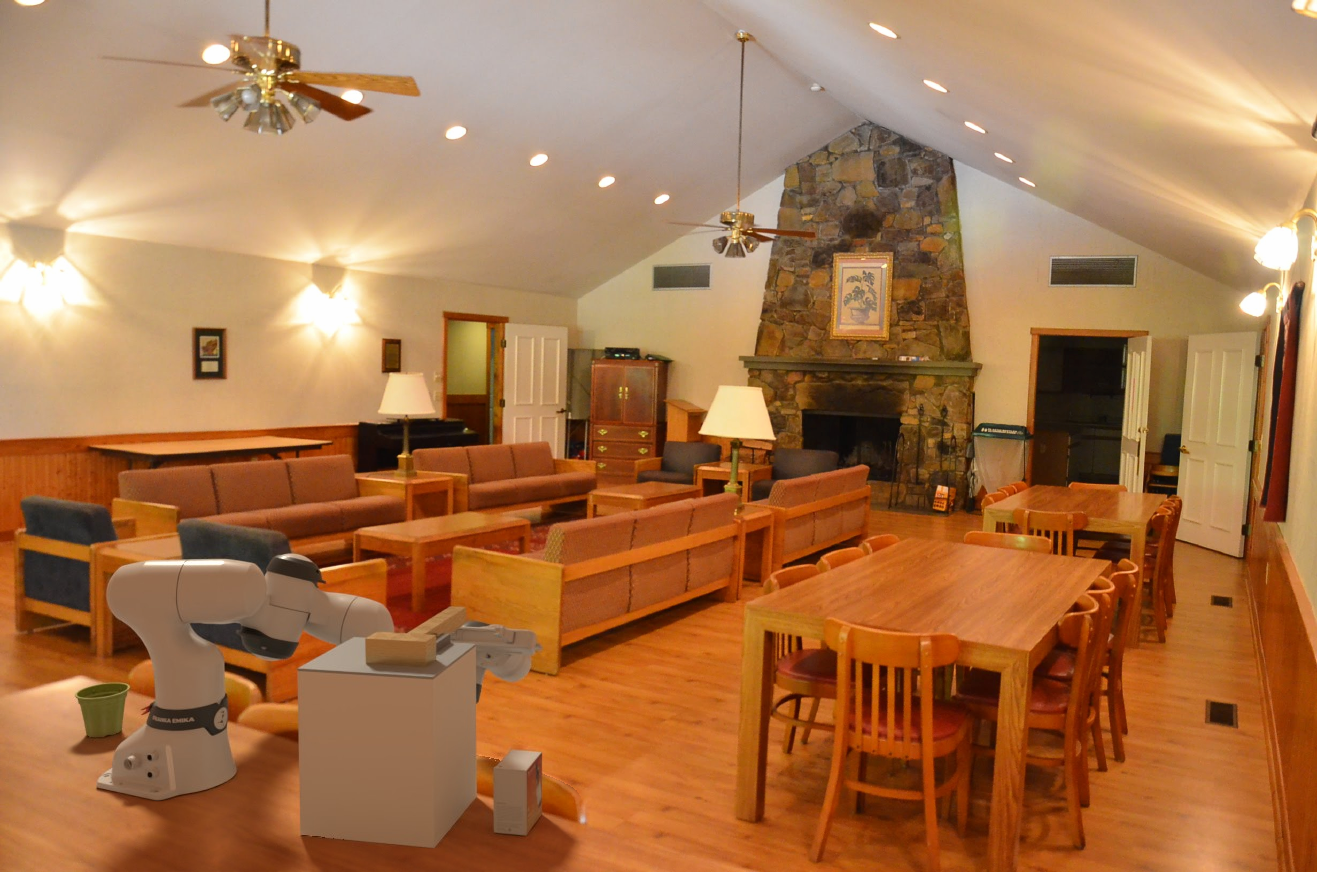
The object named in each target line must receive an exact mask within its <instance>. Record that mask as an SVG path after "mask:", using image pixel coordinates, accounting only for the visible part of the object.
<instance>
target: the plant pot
mask: <svg viewBox="0 0 1317 872" xmlns="http://www.w3.org/2000/svg"><path fill="white" fill-rule="evenodd" d="M130 689H131V685H129V684H128V683H124V682H105V683H98V684H94V685H90V686H86V687H83V688H81V689H79V690H78V691H76V692H75V693H74V697H75V698H76V699H77V702H78V704H79V706H80V711H81V714H82V719H83V723H84V725H83V726H84V728H85V729H84V730H85V734H86V736H87V737H88V736H89V737H88V738H91V737H102V738H104V737H106V736H109V735H110V736H114V735H116V733H117V734H119V733H120V732H122V729H123V723H124V721H123V720H124V712H125V705H126V698H127V697H128V692H129V690H130Z"/></svg>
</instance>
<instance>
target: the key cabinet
mask: <svg viewBox="0 0 1317 872" xmlns="http://www.w3.org/2000/svg"><path fill="white" fill-rule="evenodd" d="M296 670H297V716H298V717H297V718H298V720H297V722H298V723H297V724H298V725H297V726H298V766H299V767H298V769H299V770H298V772H299V773H298V774H299V779H298V781H299V783H298V784H299V824H300V825H299V827H300V828H299V831H300V834H299V835H300V836H301V835H312V836H321V837H320V838H322V837H325V839H333V838H334V839H335V840H343V839H344V840H345V841H357V842H363V843H375V844H376V843H377V844H388V845H399V846H407V847H420V848H421V847H422V848H428V849H429V848H430V849H435V848H436V847H437V846H438V845H439V843H440V842H441V841H442V840H443V838H444V837H445V836H446V835H447V833H449V831H450V830H451V829H452V828H453V826H454V825H455V824H456V823H457V821H458V820H459V819H460V818H461V816H463V814H464V813H465V811H466V810H467V809H468V808H469V807H470V805H471V804H472V803H473V802H474V801H475V799H476V798H478V796H477V793H478V790H477V789H478V787H477V785H478V784H477V782H478V781H477V779H478V778H477V773H478V772H477V770H478V769H477V767H478V766H477V758H478V757H477V704H476V644H470V643H452V642H450V634H447V633H442V634H440V635H439V636H437V637H436V660H435V661H434V662H433V663H431V664H430V665H429V666H427V667H413V666H397V665H380V664H366V655H365V638H363V637H353V638H351V639H350V640H348V641H346V642H344V643H342V644H341V645H339V646H338V645H336V646H335V647H333V648H332V649H330V650H328V651H326V652H324V653H323V654H321V655H319V656H317V657H315V658H314V659H312V660H310V661H308V662H306V663H304V664H303V665H301V666H299V667H298V668H297V669H296ZM312 836H311V837H312Z"/></svg>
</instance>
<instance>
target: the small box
mask: <svg viewBox="0 0 1317 872" xmlns="http://www.w3.org/2000/svg"><path fill="white" fill-rule="evenodd" d="M492 776H493V777H492V779H493V780H492V781H493V788H492V789H493V801H492V802H493V833H496V834H504V835H516V836H527V835H528V834H529V833H530V831H531V830H532V828H533V827H534V825H535V824H536V823H537V822H538V820H539V818H541V816H542V815H543V752H541V751H531V750H520V749H510V750H509V751H508V752H507V754H505V756H504V757H503V758H502V759H501V760H500V761H499V762H498V763H497V765H495V766H494V767H493V773H492Z"/></svg>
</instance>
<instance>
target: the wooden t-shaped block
mask: <svg viewBox="0 0 1317 872" xmlns="http://www.w3.org/2000/svg"><path fill="white" fill-rule="evenodd" d="M466 621H467V608H466V606H452V605H451V606H448V607H447V608H446V609H443V610H442V611H441V612H438V613H437V614H436V615H434V616H432V617H431V618H429V619H427V620H426V621H424V622H423V623H421V624H420V625H417V626H416V627H415V628H413V629H411V630H410V631H408V632H407V633H406V632H394V633H391V632H376V633H374V634H372V635H370V636H369V637H367V638H365V655H366V664H380V665H397V666H413V667H427V666H429V665H430V664H431V663H433V662H434V661H435V660H436V637H437V636H439V635H440V634H442V633H447V634H451V633H453V632H454V631H456V630H457V629H459V628H460V627H462V626H463V625H464V624H466Z"/></svg>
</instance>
